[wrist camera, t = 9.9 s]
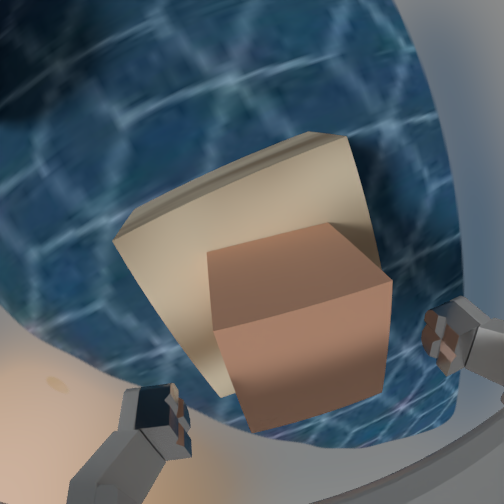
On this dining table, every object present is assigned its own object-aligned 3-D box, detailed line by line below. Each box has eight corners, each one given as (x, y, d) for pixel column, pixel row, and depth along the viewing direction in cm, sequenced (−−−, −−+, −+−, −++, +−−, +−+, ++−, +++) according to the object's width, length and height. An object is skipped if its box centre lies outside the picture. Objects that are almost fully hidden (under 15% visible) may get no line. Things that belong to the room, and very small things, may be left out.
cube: (206, 252, 12) (213, 331, 8) (327, 222, 13) (392, 280, 8) (234, 346, 14) (251, 433, 10) (335, 318, 15) (381, 392, 10)
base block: (135, 207, 16) (112, 240, 12) (306, 131, 16) (346, 136, 11) (214, 341, 20) (220, 397, 16) (353, 279, 20) (390, 322, 16)
